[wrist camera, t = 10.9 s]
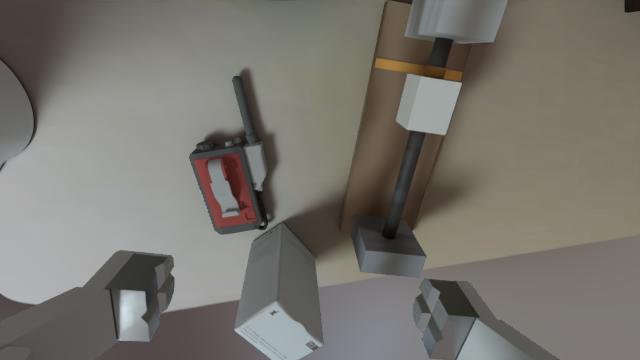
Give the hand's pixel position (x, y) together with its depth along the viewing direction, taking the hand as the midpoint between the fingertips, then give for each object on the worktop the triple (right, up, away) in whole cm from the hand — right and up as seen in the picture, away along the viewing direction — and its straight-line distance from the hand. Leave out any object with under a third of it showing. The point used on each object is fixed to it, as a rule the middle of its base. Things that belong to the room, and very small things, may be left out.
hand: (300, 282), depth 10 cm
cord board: (+10, +9, +28) cm, 31 cm away
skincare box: (-4, -7, +34) cm, 35 cm away
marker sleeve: (+11, +12, +22) cm, 28 cm away
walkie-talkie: (-11, +6, +29) cm, 32 cm away
